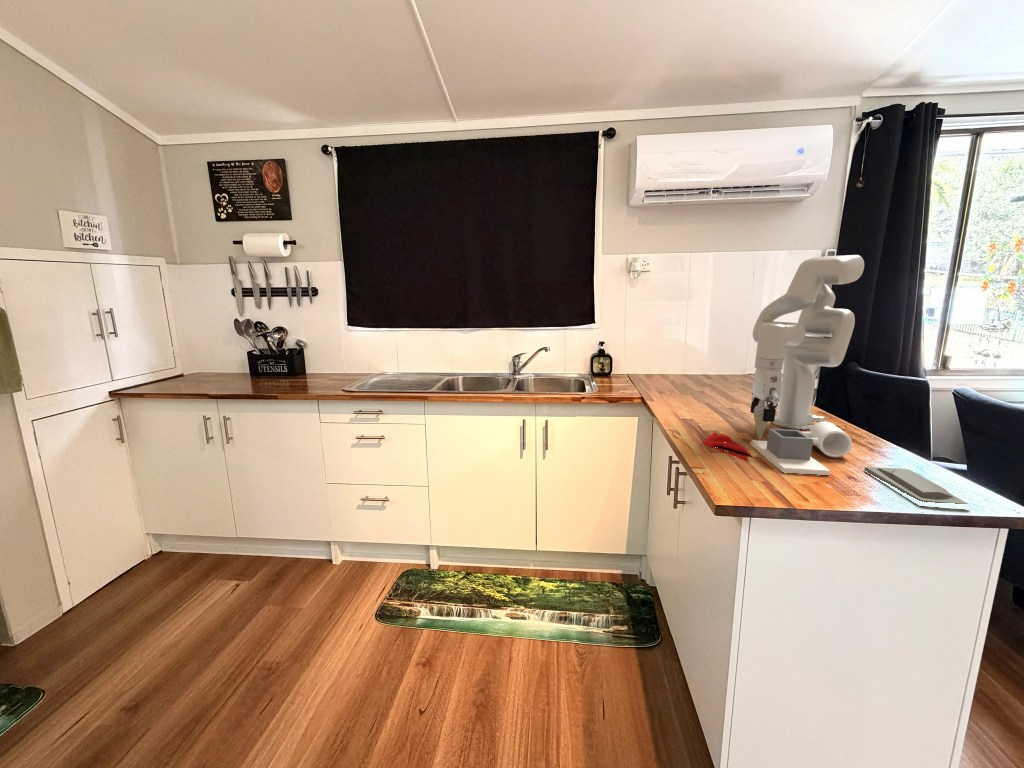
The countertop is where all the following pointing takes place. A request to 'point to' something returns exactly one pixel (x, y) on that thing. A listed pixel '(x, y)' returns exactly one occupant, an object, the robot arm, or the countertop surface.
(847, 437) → the mug
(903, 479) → the soap mold
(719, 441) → the red lips
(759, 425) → the ice cream cone
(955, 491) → the countertop surface
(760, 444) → the box socket base
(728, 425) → the countertop surface
